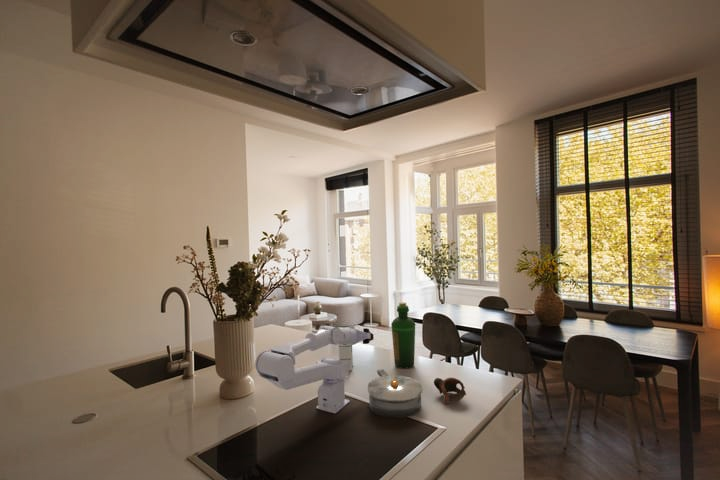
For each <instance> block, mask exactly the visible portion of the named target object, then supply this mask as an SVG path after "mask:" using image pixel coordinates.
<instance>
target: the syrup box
mask: <svg viewBox="0 0 720 480" xmlns="http://www.w3.org/2000/svg"><path fill="white" fill-rule="evenodd" d="M337 345H338V360H339V361H346V362H347V363H348V365H349V372H350V371H353V367H354V359H353V358H354V357H353V345H349V344H347V345H343V344H337Z"/></svg>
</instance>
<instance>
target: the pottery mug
mask: <svg viewBox="0 0 720 480" xmlns="http://www.w3.org/2000/svg"><path fill="white" fill-rule="evenodd" d="M433 384H434V387H435V388H436V389H437V390H438V392H439V394H440V395H441V394H443V396H444V397H443V400H442V401H443V402H444V403H445V404H446V405H448V404H449V403H453V402H458V401H461V399H463V398H464V397H465V396H466V395H467V393H466V391H465V386H464V383H463V382H462V381H461V380H460V379H458V378H455V377H447V378H445V379H444V380H443V379H442V378H439V377H437V378H435V379H434V380H433ZM458 384H459V385H460V387H461V389H460V388H459V387H458ZM453 392H454V393H453Z"/></svg>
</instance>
